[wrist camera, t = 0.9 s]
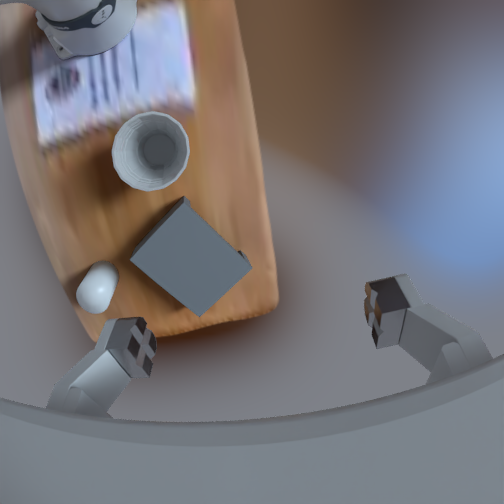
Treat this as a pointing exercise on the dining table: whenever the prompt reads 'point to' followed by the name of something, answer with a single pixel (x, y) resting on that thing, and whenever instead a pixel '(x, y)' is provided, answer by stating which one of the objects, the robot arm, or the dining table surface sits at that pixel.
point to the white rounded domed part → (98, 287)
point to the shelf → (190, 259)
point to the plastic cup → (150, 151)
